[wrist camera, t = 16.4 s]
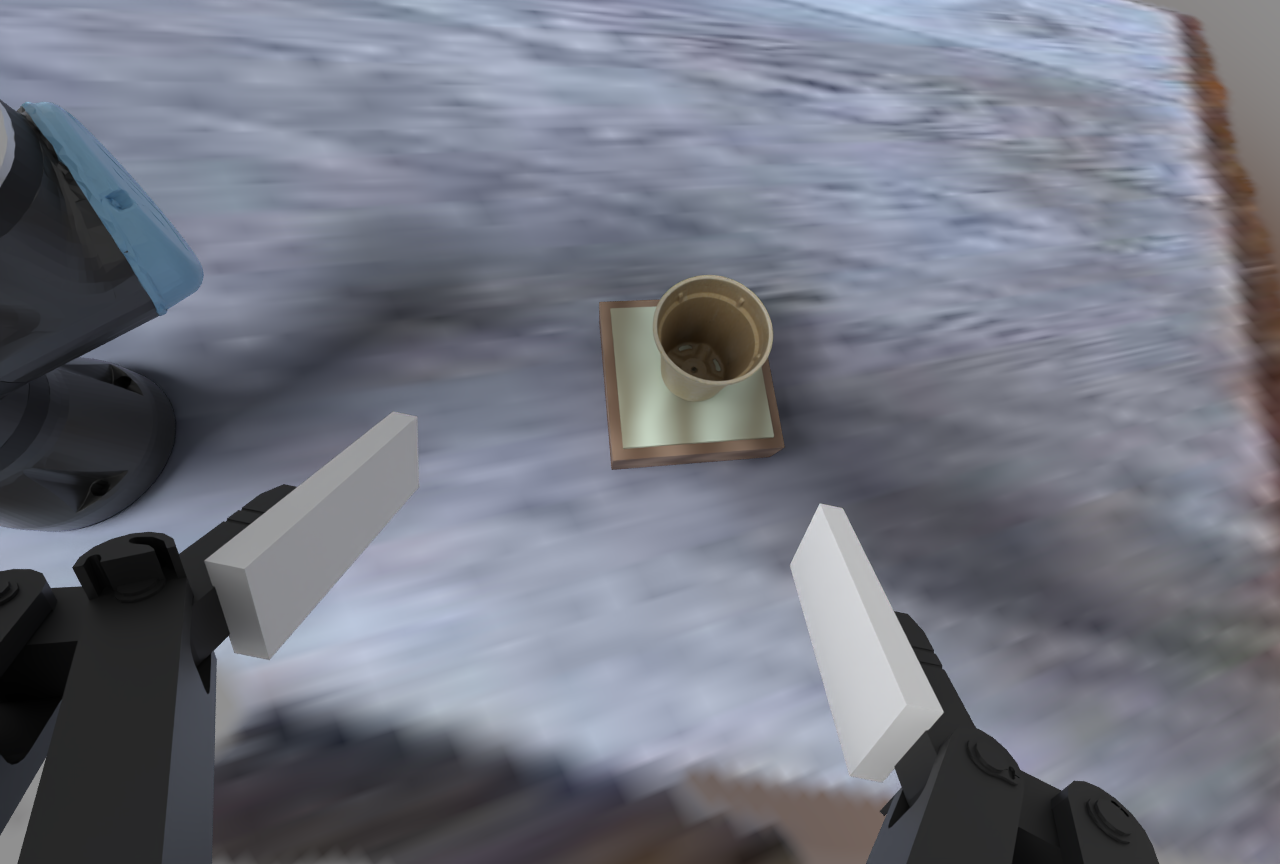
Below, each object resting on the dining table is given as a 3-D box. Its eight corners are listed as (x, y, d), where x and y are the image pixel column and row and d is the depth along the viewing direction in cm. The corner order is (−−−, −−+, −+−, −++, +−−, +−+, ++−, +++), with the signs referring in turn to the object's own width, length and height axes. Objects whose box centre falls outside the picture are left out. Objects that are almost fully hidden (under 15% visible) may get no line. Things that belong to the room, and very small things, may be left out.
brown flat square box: (611, 469, 46) (612, 459, 41) (599, 322, 50) (599, 299, 46) (769, 457, 47) (786, 446, 43) (744, 315, 52) (757, 293, 48)
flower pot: (689, 440, 43) (711, 409, 34) (622, 365, 44) (627, 318, 36) (761, 379, 45) (797, 337, 37) (695, 310, 46) (716, 254, 38)
